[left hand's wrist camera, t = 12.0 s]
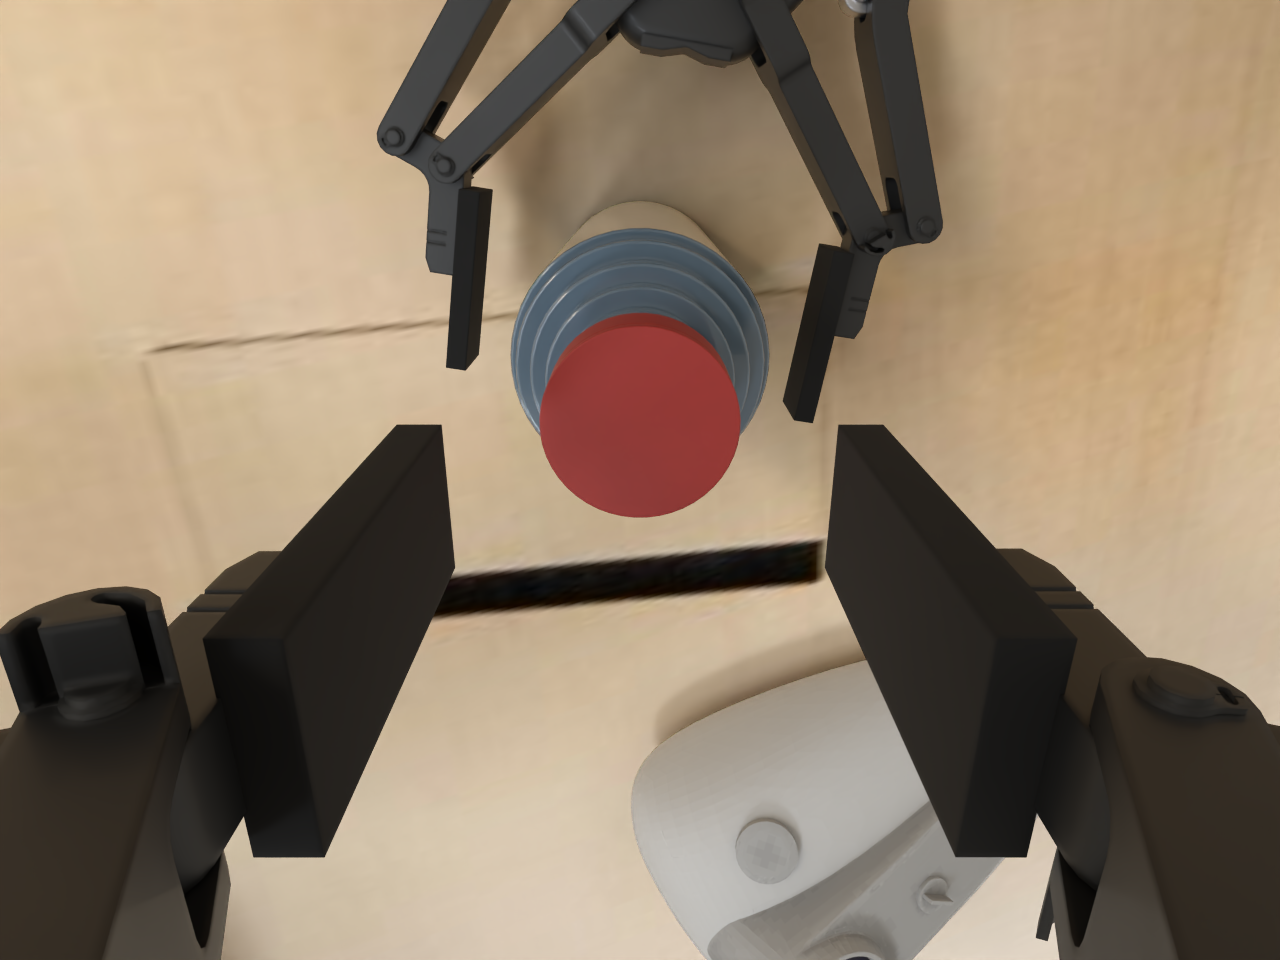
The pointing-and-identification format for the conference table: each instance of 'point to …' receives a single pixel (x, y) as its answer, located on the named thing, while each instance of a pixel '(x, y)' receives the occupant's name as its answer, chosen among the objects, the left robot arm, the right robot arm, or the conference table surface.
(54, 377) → the conference table surface
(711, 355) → the cap
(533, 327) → the bottle
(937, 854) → the projector
